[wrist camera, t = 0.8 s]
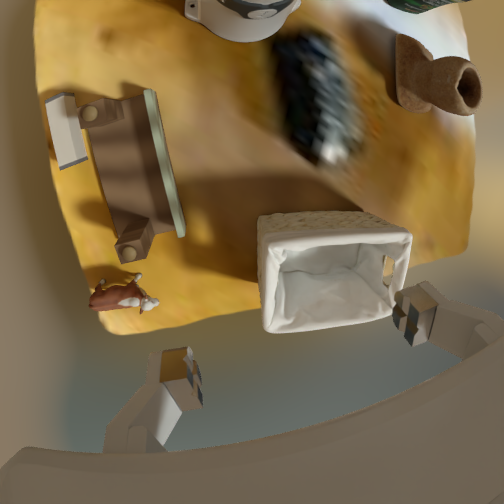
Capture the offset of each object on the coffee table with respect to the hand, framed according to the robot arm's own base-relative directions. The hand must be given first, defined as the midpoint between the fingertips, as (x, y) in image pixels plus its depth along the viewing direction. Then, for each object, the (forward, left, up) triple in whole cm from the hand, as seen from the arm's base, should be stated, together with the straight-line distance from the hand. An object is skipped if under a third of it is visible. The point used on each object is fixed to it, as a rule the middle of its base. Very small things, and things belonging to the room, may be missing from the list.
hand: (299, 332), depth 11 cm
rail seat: (-3, -14, -41) cm, 43 cm away
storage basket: (+18, +13, -41) cm, 46 cm away
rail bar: (-13, -24, -41) cm, 49 cm away
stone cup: (-13, +39, -41) cm, 57 cm away
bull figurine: (+17, -22, -41) cm, 50 cm away
